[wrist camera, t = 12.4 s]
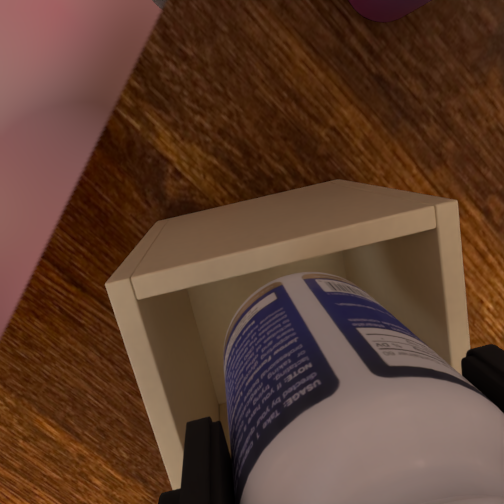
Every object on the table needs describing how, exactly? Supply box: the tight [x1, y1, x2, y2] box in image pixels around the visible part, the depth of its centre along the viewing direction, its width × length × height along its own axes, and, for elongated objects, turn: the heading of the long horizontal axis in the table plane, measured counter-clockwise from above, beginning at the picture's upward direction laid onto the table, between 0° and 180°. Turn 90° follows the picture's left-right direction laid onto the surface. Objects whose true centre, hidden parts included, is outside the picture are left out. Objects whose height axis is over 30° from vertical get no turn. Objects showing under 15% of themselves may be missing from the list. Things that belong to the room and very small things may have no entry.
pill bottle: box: [223, 272, 504, 504], centre depth 9 cm, size 6×6×10 cm
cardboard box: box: [105, 179, 470, 490], centre depth 20 cm, size 14×12×12 cm
